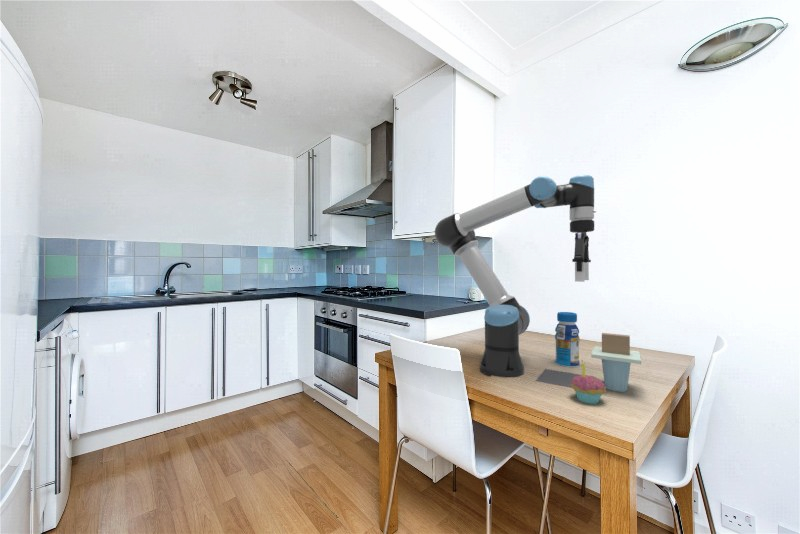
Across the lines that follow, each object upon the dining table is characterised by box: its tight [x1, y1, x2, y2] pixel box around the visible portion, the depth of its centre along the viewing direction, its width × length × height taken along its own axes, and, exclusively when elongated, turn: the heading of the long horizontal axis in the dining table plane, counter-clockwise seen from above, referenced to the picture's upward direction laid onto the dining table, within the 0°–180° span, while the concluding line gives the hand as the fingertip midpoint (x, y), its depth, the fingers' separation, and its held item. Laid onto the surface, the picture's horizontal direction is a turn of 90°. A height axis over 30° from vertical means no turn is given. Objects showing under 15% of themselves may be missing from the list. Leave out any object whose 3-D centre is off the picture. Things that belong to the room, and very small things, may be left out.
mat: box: [535, 368, 580, 389], centre depth 105 cm, size 15×15×1 cm
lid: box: [590, 332, 642, 365], centre depth 97 cm, size 12×12×6 cm
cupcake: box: [571, 359, 607, 405], centre depth 89 cm, size 9×8×12 cm
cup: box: [600, 359, 632, 393], centre depth 97 cm, size 8×8×10 cm
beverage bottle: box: [554, 311, 581, 368], centre depth 122 cm, size 8×8×20 cm
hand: (582, 280), depth 112 cm, fingers open, 13 cm apart
